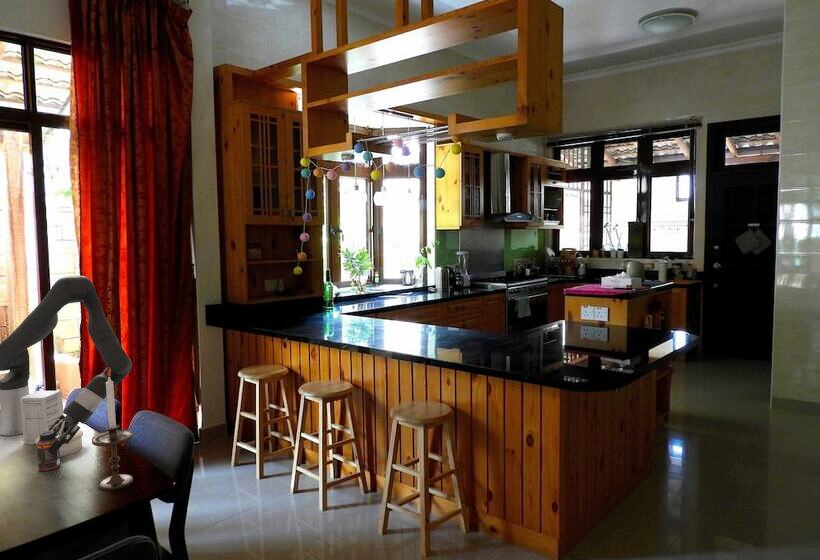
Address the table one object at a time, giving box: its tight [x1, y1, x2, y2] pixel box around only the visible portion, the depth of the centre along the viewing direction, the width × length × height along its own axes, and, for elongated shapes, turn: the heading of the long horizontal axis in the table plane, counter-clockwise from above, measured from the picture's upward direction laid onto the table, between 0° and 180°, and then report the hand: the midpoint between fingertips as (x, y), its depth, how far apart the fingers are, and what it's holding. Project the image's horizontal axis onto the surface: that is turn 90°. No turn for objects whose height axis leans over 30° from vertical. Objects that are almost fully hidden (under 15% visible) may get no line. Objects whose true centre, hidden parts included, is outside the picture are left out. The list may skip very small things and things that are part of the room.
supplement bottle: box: [36, 431, 61, 472], centre depth 182 cm, size 6×6×11 cm
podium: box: [35, 429, 84, 458], centre depth 196 cm, size 14×14×5 cm
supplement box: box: [20, 390, 65, 445], centre depth 207 cm, size 10×9×17 cm
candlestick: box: [91, 367, 135, 492], centre depth 168 cm, size 11×11×35 cm
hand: (46, 449), depth 181 cm, fingers open, 8 cm apart
